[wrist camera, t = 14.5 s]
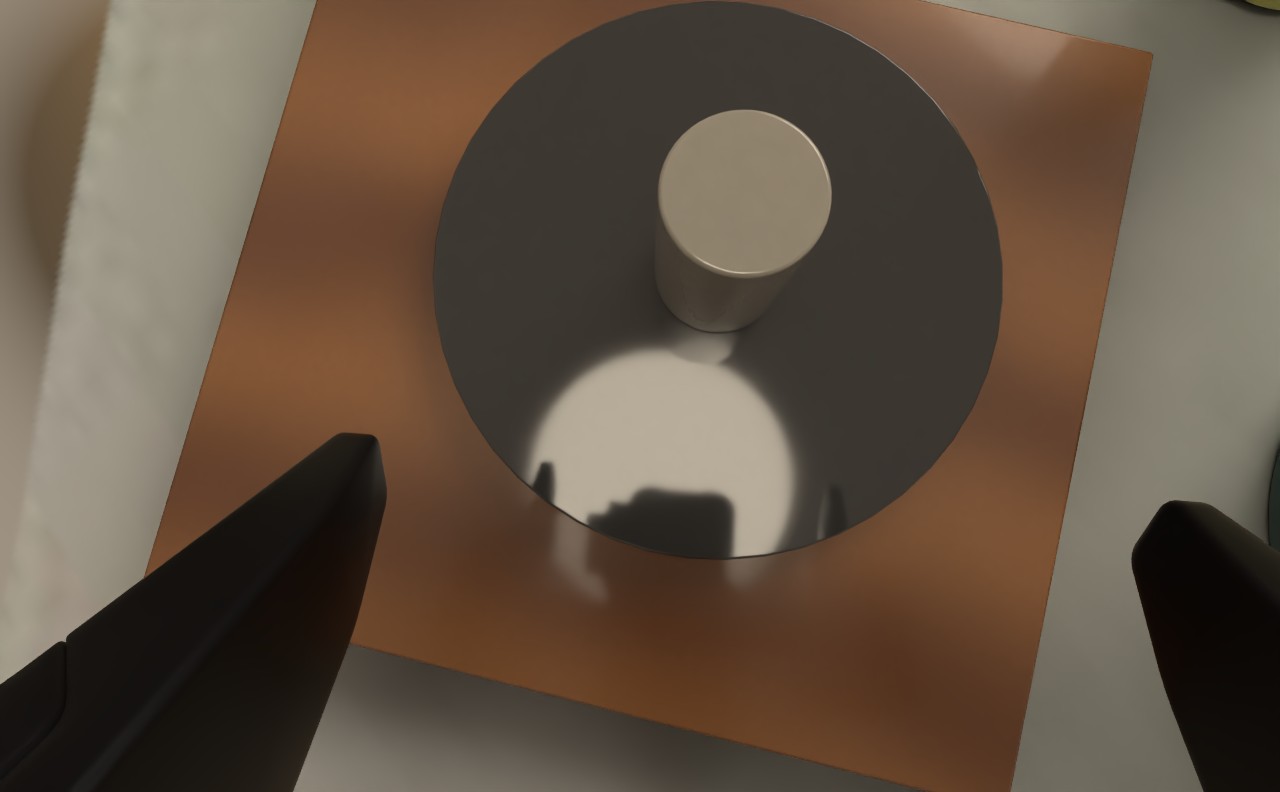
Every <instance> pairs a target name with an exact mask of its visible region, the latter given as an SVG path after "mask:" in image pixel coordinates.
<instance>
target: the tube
mask: <svg viewBox="0 0 1280 792" xmlns="http://www.w3.org/2000/svg"><path fill="white" fill-rule="evenodd" d="M1245 1H1247V2H1250V3H1252V4H1254V5H1258V6H1262V7H1265V8H1270V9H1276V10H1280V0H1245Z"/></svg>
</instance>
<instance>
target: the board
mask: <svg viewBox="0 0 1280 792" xmlns="http://www.w3.org/2000/svg"><path fill="white" fill-rule="evenodd" d="M701 1H727V2H747V3H753V4H759V5H765V6H772V7H778V8H782V9H786V10H789V11H793V12H796V13H799V14H803V15H806V16H810V17H813V18H816V19H818V20H821V21H823V22H825V23H828V24H830V25H832V26H834V27H837V28H839V29H841V30H844V31H846V32H848V33H850V34H852V35H853V36H855V37H857V38H858V39H860V40H862V41H864V42H865V43H867V44H869V45H870V46H872V47H874V48H875V49H877V50H879V51H880V52H881V53H883V54H884V55H885V56H887V57H888V58H889V59H890V60H892V61H893V62H894V63H896V64H897V65H898V66H899V67H901V68H902V69H903V70H905V71H906V72H907V73H908V74H909V75H910V76H911V77H912V78H913V79H914V80H915V81H916V82H917V83H918V84H919V85H920V86H921V87H922V88H923V89H924V90H925V91H926V92H927V93H928V94H929V95H930V96H931V97H932V98H933V99H934V100H935V101H936V102H937V104H938V105H939V106H940V108H941V109H942V110H943V112H944V113H945V114H946V115H947V117H948V118H949V119H950V121H951V122H952V123H953V125H954V126H955V127H956V129H957V130H958V132H959V134H960V136H961V137H962V139H963V141H964V142H965V144H966V146H967V148H968V149H969V151H970V153H971V154H972V156H973V158H974V160H975V162H976V165H977V167H978V169H979V172H980V174H981V177H982V179H983V181H984V184H985V186H986V188H987V191H988V193H989V197H990V201H991V205H992V208H993V212H994V216H995V219H996V223H997V227H998V233H999V240H1000V248H1001V255H1002V263H1003V302H1002V310H1001V317H1000V324H999V332H998V338H997V342H996V346H995V349H994V353H993V357H992V360H991V364H990V367H989V371H988V374H987V377H986V379H985V381H984V383H983V386H982V388H981V390H980V393H979V395H978V397H977V400H976V402H975V404H974V407H973V409H972V410H971V412H970V414H969V415H968V417H967V419H966V420H965V422H964V424H963V425H962V427H961V429H960V430H959V432H958V434H957V435H956V437H955V439H954V440H953V441H952V443H951V444H950V445H949V446H948V448H947V449H946V450H945V451H944V453H943V454H942V455H941V456H940V458H939V459H938V460H937V461H936V463H935V464H934V465H933V466H932V467H931V469H930V470H929V471H928V472H927V473H926V474H924V475H923V476H922V477H921V478H920V479H919V480H918V481H917V482H916V483H915V484H914V485H913V486H912V487H911V488H910V489H909V490H908V491H907V492H905V493H904V494H903V495H902V496H901V497H899V498H898V499H897V500H895V501H894V502H892V503H891V504H890V505H888V506H887V507H885V508H884V509H883V510H881V511H880V512H878V513H877V514H876V515H874V516H873V517H871V518H869V519H868V520H866V521H864V522H862V523H860V524H858V525H856V526H854V527H852V528H851V529H849V530H847V531H845V532H843V533H841V534H839V535H837V536H834V537H832V538H829V539H826V540H824V541H821V542H818V543H815V544H813V545H810V546H807V547H805V548H802V549H797V550H793V551H788V552H784V553H779V554H775V555H770V556H766V557H756V558H745V559H734V560H713V559H691V558H683V557H677V556H672V555H666V554H661V553H655V552H650V551H647V550H643V549H640V548H637V547H634V546H631V545H628V544H625V543H622V542H619V541H615V540H613V539H610V538H608V537H606V536H604V535H602V534H600V533H598V532H596V531H594V530H591V529H589V528H587V527H585V526H583V525H581V524H579V523H577V522H576V521H574V520H573V519H571V518H569V517H568V516H566V515H565V514H563V513H562V512H560V511H559V510H557V509H556V508H554V507H552V506H551V505H549V504H548V503H546V502H545V501H544V500H543V499H542V498H540V497H539V496H538V495H537V494H536V493H535V492H533V491H532V490H531V489H530V488H529V487H528V486H526V485H525V484H524V483H523V482H522V481H521V480H519V479H518V478H517V477H516V476H515V475H514V473H513V472H512V471H511V470H510V469H509V468H508V467H507V466H506V464H505V463H504V462H503V461H502V460H501V459H500V458H499V457H498V456H497V454H496V453H495V452H494V451H493V450H492V449H491V447H490V446H489V444H488V443H487V441H486V440H485V438H484V437H483V435H482V434H481V432H480V431H479V429H478V428H477V427H476V425H475V424H474V422H473V421H472V419H471V417H470V415H469V413H468V411H467V409H466V407H465V405H464V403H463V401H462V399H461V397H460V395H459V393H458V391H457V389H456V387H455V385H454V383H453V380H452V377H451V374H450V371H449V368H448V365H447V362H446V359H445V356H444V353H443V350H442V346H441V341H440V336H439V331H438V326H437V321H436V316H435V303H434V287H433V268H434V254H435V241H436V236H437V231H438V226H439V221H440V216H441V212H442V207H443V203H444V201H445V198H446V195H447V192H448V189H449V186H450V183H451V180H452V178H453V175H454V172H455V170H456V168H457V166H458V164H459V162H460V160H461V158H462V156H463V154H464V152H465V150H466V148H467V146H468V144H469V142H470V140H471V138H472V137H473V135H474V134H475V133H476V131H477V130H478V128H479V127H480V125H481V124H482V122H483V121H484V119H485V118H486V116H487V115H488V113H489V112H490V110H491V109H492V108H493V107H494V106H495V105H496V103H497V102H498V101H499V100H500V99H501V98H502V97H503V96H504V94H505V93H506V92H507V91H508V90H509V89H510V88H511V87H512V85H513V84H514V83H515V82H516V81H517V80H519V79H520V78H521V77H522V76H523V75H524V74H526V73H527V72H528V71H529V70H530V69H531V68H532V67H534V66H535V65H536V64H537V63H538V62H539V61H541V60H542V59H543V58H545V57H546V56H548V55H549V54H551V53H552V52H554V51H555V50H557V49H558V48H560V47H561V46H563V45H564V44H566V43H567V42H569V41H570V40H572V39H573V38H575V37H577V36H579V35H581V34H583V33H585V32H587V31H589V30H592V29H594V28H596V27H598V26H600V25H602V24H604V23H606V22H609V21H612V20H615V19H618V18H621V17H623V16H626V15H629V14H632V13H635V12H638V11H642V10H647V9H652V8H656V7H661V6H666V5H670V4H678V3H689V2H701ZM1152 59H1153V54H1152V53H1150V52H1146V51H1142V50H1137V49H1133V48H1128V47H1124V46H1120V45H1115V44H1111V43H1106V42H1102V41H1097V40H1093V39H1089V38H1084V37H1080V36H1075V35H1071V34H1067V33H1062V32H1058V31H1053V30H1049V29H1045V28H1040V27H1036V26H1031V25H1027V24H1023V23H1018V22H1014V21H1009V20H1005V19H1001V18H996V17H992V16H987V15H983V14H979V13H974V12H970V11H965V10H961V9H957V8H952V7H948V6H943V5H939V4H934V3H930V2H926V1H921V0H317V1H316V4H315V8H314V11H313V15H312V18H311V21H310V25H309V28H308V31H307V35H306V38H305V41H304V45H303V48H302V51H301V55H300V58H299V61H298V65H297V68H296V71H295V75H294V78H293V81H292V85H291V88H290V91H289V95H288V98H287V101H286V105H285V108H284V111H283V115H282V118H281V121H280V125H279V128H278V131H277V135H276V138H275V141H274V145H273V148H272V151H271V155H270V158H269V162H268V165H267V168H266V172H265V175H264V178H263V182H262V185H261V188H260V192H259V195H258V198H257V202H256V205H255V208H254V212H253V215H252V218H251V222H250V225H249V228H248V232H247V235H246V238H245V242H244V245H243V248H242V252H241V255H240V258H239V262H238V265H237V268H236V272H235V275H234V278H233V282H232V285H231V288H230V292H229V295H228V298H227V302H226V305H225V308H224V312H223V315H222V319H221V322H220V325H219V329H218V332H217V335H216V339H215V342H214V345H213V349H212V352H211V355H210V359H209V362H208V365H207V369H206V372H205V375H204V379H203V382H202V385H201V389H200V392H199V395H198V399H197V402H196V405H195V409H194V412H193V415H192V419H191V422H190V425H189V429H188V432H187V435H186V439H185V442H184V445H183V449H182V452H181V455H180V459H179V462H178V466H177V469H176V472H175V476H174V479H173V482H172V486H171V489H170V492H169V496H168V499H167V502H166V506H165V509H164V512H163V516H162V519H161V522H160V526H159V529H158V532H157V536H156V539H155V542H154V546H153V549H152V552H151V556H150V559H149V562H148V566H147V569H146V572H145V576H144V578H145V577H146V576H148V575H149V574H150V573H152V572H153V571H154V570H156V569H157V568H158V567H160V566H161V565H162V564H164V563H165V562H166V561H168V560H169V559H170V558H172V557H173V556H174V555H176V554H177V553H178V552H180V551H181V550H182V549H184V548H185V547H186V546H188V545H189V544H190V543H192V542H193V541H194V540H196V539H197V538H198V537H200V536H201V535H202V534H204V533H205V532H206V531H208V530H209V529H210V528H212V527H213V526H214V525H216V524H217V523H218V522H220V521H221V520H222V519H224V518H225V517H226V516H228V515H229V514H230V513H232V512H233V511H234V510H236V509H237V508H238V507H240V506H241V505H242V504H244V503H245V502H246V501H248V500H249V499H250V498H252V497H253V496H254V495H256V494H257V493H258V492H260V491H261V490H262V489H264V488H265V487H266V486H268V485H269V484H271V483H272V482H273V481H275V480H276V479H277V478H279V477H280V476H281V475H283V474H284V473H285V472H287V471H288V470H289V469H291V468H292V467H293V466H295V465H296V464H297V463H299V462H300V461H301V460H303V459H304V458H305V457H307V456H308V455H309V454H311V453H312V452H313V451H315V450H316V449H317V448H319V447H320V446H321V445H323V444H324V443H325V442H327V441H328V440H329V439H331V438H332V437H333V436H335V435H337V434H339V433H343V432H348V433H360V434H371V435H373V436H375V437H376V438H377V439H378V441H379V444H380V448H381V454H382V460H383V466H384V472H385V478H386V484H387V500H386V507H385V511H384V515H383V519H382V523H381V527H380V531H379V535H378V539H377V543H376V547H375V551H374V555H373V559H372V563H371V567H370V571H369V575H368V579H367V583H366V587H365V591H364V595H363V599H362V603H361V607H360V611H359V615H358V618H357V622H356V626H355V628H354V631H353V634H352V637H351V640H350V643H349V644H352V645H356V646H360V647H364V648H368V649H372V650H376V651H380V652H384V653H388V654H391V655H395V656H399V657H403V658H407V659H411V660H415V661H419V662H423V663H427V664H431V665H434V666H438V667H442V668H446V669H450V670H454V671H458V672H462V673H466V674H470V675H473V676H477V677H481V678H485V679H489V680H493V681H497V682H501V683H505V684H509V685H513V686H516V687H520V688H524V689H528V690H532V691H536V692H540V693H544V694H548V695H552V696H556V697H559V698H563V699H567V700H571V701H575V702H579V703H583V704H587V705H591V706H595V707H598V708H602V709H606V710H610V711H614V712H618V713H622V714H626V715H630V716H634V717H638V718H641V719H645V720H649V721H653V722H657V723H661V724H665V725H669V726H673V727H677V728H681V729H684V730H688V731H692V732H696V733H700V734H704V735H708V736H712V737H716V738H720V739H723V740H727V741H731V742H735V743H739V744H743V745H747V746H751V747H755V748H759V749H763V750H766V751H770V752H774V753H778V754H782V755H786V756H790V757H794V758H798V759H802V760H805V761H809V762H813V763H817V764H821V765H825V766H829V767H833V768H837V769H841V770H845V771H848V772H852V773H856V774H860V775H864V776H868V777H872V778H876V779H880V780H884V781H888V782H891V783H895V784H899V785H903V786H907V787H911V788H915V789H919V790H923V791H927V792H1010V791H1011V786H1012V781H1013V775H1014V770H1015V765H1016V760H1017V755H1018V750H1019V745H1020V739H1021V734H1022V729H1023V724H1024V719H1025V714H1026V708H1027V703H1028V698H1029V693H1030V688H1031V683H1032V678H1033V672H1034V667H1035V662H1036V657H1037V652H1038V647H1039V641H1040V636H1041V631H1042V626H1043V621H1044V616H1045V610H1046V605H1047V600H1048V595H1049V590H1050V585H1051V580H1052V574H1053V569H1054V564H1055V559H1056V554H1057V549H1058V543H1059V538H1060V533H1061V528H1062V523H1063V518H1064V513H1065V507H1066V502H1067V497H1068V492H1069V487H1070V482H1071V476H1072V471H1073V466H1074V461H1075V456H1076V451H1077V446H1078V440H1079V435H1080V430H1081V425H1082V420H1083V415H1084V409H1085V404H1086V399H1087V394H1088V389H1089V384H1090V378H1091V373H1092V368H1093V363H1094V358H1095V353H1096V348H1097V342H1098V337H1099V332H1100V327H1101V322H1102V317H1103V311H1104V306H1105V301H1106V296H1107V291H1108V286H1109V281H1110V275H1111V270H1112V265H1113V260H1114V255H1115V250H1116V244H1117V239H1118V234H1119V229H1120V224H1121V219H1122V214H1123V208H1124V203H1125V198H1126V193H1127V188H1128V183H1129V177H1130V172H1131V167H1132V162H1133V157H1134V152H1135V147H1136V141H1137V136H1138V131H1139V126H1140V121H1141V116H1142V110H1143V105H1144V100H1145V95H1146V90H1147V85H1148V79H1149V74H1150V69H1151V64H1152Z"/></svg>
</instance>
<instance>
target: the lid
mask: <svg viewBox="0 0 1280 792" xmlns="http://www.w3.org/2000/svg"><path fill="white" fill-rule="evenodd" d="M433 287H434V303H435V316H436V321H437V326H438V331H439V336H440V341H441V346H442V350H443V353H444V356H445V359H446V362H447V365H448V368H449V371H450V374H451V377H452V380H453V383H454V385H455V387H456V389H457V391H458V393H459V395H460V397H461V399H462V401H463V403H464V405H465V407H466V409H467V411H468V413H469V415H470V417H471V419H472V421H473V422H474V424H475V425H476V427H477V428H478V429H479V431H480V432H481V434H482V435H483V437H484V438H485V440H486V441H487V443H488V444H489V446H490V447H491V449H492V450H493V451H494V452H495V453H496V454H497V456H498V457H499V458H500V459H501V460H502V461H503V462H504V463H505V464H506V466H507V467H508V468H509V469H510V470H511V471H512V472H513V473H514V475H515V476H516V477H517V478H518V479H519V480H521V481H522V482H523V483H524V484H525V485H526V486H528V487H529V488H530V489H531V490H532V491H533V492H535V493H536V494H537V495H538V496H539V497H540V498H542V499H543V500H544V501H545V502H546V503H548V504H549V505H551V506H552V507H554V508H556V509H557V510H559V511H560V512H562V513H563V514H565V515H566V516H568V517H569V518H571V519H573V520H574V521H576V522H577V523H579V524H581V525H583V526H585V527H587V528H589V529H591V530H594V531H596V532H598V533H600V534H602V535H604V536H606V537H608V538H610V539H613V540H615V541H619V542H622V543H625V544H628V545H631V546H634V547H637V548H640V549H643V550H647V551H650V552H655V553H661V554H666V555H672V556H677V557H683V558H691V559H713V560H734V559H745V558H756V557H766V556H770V555H775V554H779V553H784V552H788V551H793V550H797V549H802V548H805V547H807V546H810V545H813V544H815V543H818V542H821V541H824V540H826V539H829V538H832V537H834V536H837V535H839V534H841V533H843V532H845V531H847V530H849V529H851V528H852V527H854V526H856V525H858V524H860V523H862V522H864V521H866V520H868V519H869V518H871V517H873V516H874V515H876V514H877V513H878V512H880V511H881V510H883V509H884V508H885V507H887V506H888V505H890V504H891V503H892V502H894V501H895V500H897V499H898V498H899V497H901V496H902V495H903V494H904V493H905V492H907V491H908V490H909V489H910V488H911V487H912V486H913V485H914V484H915V483H916V482H917V481H918V480H919V479H920V478H921V477H922V476H923V475H924V474H926V473H927V472H928V471H929V470H930V469H931V467H932V466H933V465H934V464H935V463H936V461H937V460H938V459H939V458H940V456H941V455H942V454H943V453H944V451H945V450H946V449H947V448H948V446H949V445H950V444H951V443H952V441H953V440H954V439H955V437H956V435H957V434H958V432H959V430H960V429H961V427H962V425H963V424H964V422H965V420H966V419H967V417H968V415H969V414H970V412H971V410H972V409H973V407H974V404H975V402H976V400H977V397H978V395H979V393H980V390H981V388H982V386H983V383H984V381H985V379H986V377H987V374H988V371H989V367H990V364H991V360H992V357H993V353H994V349H995V346H996V342H997V338H998V332H999V324H1000V317H1001V310H1002V302H1003V263H1002V255H1001V248H1000V240H999V233H998V227H997V223H996V219H995V216H994V212H993V208H992V205H991V201H990V197H989V193H988V191H987V188H986V186H985V184H984V181H983V179H982V177H981V174H980V172H979V169H978V167H977V165H976V162H975V160H974V158H973V156H972V154H971V153H970V151H969V149H968V148H967V146H966V144H965V142H964V141H963V139H962V137H961V136H960V134H959V132H958V130H957V129H956V127H955V126H954V125H953V123H952V122H951V121H950V119H949V118H948V117H947V115H946V114H945V113H944V112H943V110H942V109H941V108H940V106H939V105H938V104H937V102H936V101H935V100H934V99H933V98H932V97H931V96H930V95H929V94H928V93H927V92H926V91H925V90H924V89H923V88H922V87H921V86H920V85H919V84H918V83H917V82H916V81H915V80H914V79H913V78H912V77H911V76H910V75H909V74H908V73H907V72H906V71H905V70H903V69H902V68H901V67H899V66H898V65H897V64H896V63H894V62H893V61H892V60H890V59H889V58H888V57H887V56H885V55H884V54H883V53H881V52H880V51H879V50H877V49H875V48H874V47H872V46H870V45H869V44H867V43H865V42H864V41H862V40H860V39H858V38H857V37H855V36H853V35H852V34H850V33H848V32H846V31H844V30H841V29H839V28H837V27H834V26H832V25H830V24H828V23H825V22H823V21H821V20H818V19H816V18H813V17H810V16H806V15H803V14H799V13H796V12H793V11H789V10H786V9H782V8H778V7H772V6H765V5H759V4H753V3H747V2H727V1H701V2H689V3H678V4H670V5H666V6H661V7H656V8H652V9H647V10H642V11H638V12H635V13H632V14H629V15H626V16H623V17H621V18H618V19H615V20H612V21H609V22H606V23H604V24H602V25H600V26H598V27H596V28H594V29H592V30H589V31H587V32H585V33H583V34H581V35H579V36H577V37H575V38H573V39H572V40H570V41H569V42H567V43H566V44H564V45H563V46H561V47H560V48H558V49H557V50H555V51H554V52H552V53H551V54H549V55H548V56H546V57H545V58H543V59H542V60H541V61H539V62H538V63H537V64H536V65H535V66H534V67H532V68H531V69H530V70H529V71H528V72H527V73H526V74H524V75H523V76H522V77H521V78H520V79H519V80H517V81H516V82H515V83H514V84H513V85H512V87H511V88H510V89H509V90H508V91H507V92H506V93H505V94H504V96H503V97H502V98H501V99H500V100H499V101H498V102H497V103H496V105H495V106H494V107H493V108H492V109H491V110H490V112H489V113H488V115H487V116H486V118H485V119H484V121H483V122H482V124H481V125H480V127H479V128H478V130H477V131H476V133H475V134H474V135H473V137H472V138H471V140H470V142H469V144H468V146H467V148H466V150H465V152H464V154H463V156H462V158H461V160H460V162H459V164H458V166H457V168H456V170H455V172H454V175H453V178H452V180H451V183H450V186H449V189H448V192H447V195H446V198H445V201H444V203H443V207H442V212H441V216H440V221H439V226H438V231H437V236H436V241H435V254H434V268H433Z"/></svg>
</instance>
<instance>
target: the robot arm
mask: <svg viewBox="0 0 1280 792" xmlns="http://www.w3.org/2000/svg"><path fill="white" fill-rule="evenodd" d="M386 500H387V484H386V478H385V472H384V466H383V460H382V454H381V448H380V444H379V441H378V439H377V438H376V437H375V436H373V435H371V434H360V433H348V432H343V433H339V434H337V435H335V436H333V437H332V438H331V439H329V440H328V441H327V442H325V443H324V444H323V445H321V446H320V447H319V448H317V449H316V450H315V451H313V452H312V453H311V454H309V455H308V456H307V457H305V458H304V459H303V460H301V461H300V462H299V463H297V464H296V465H295V466H293V467H292V468H291V469H289V470H288V471H287V472H285V473H284V474H283V475H281V476H280V477H279V478H277V479H276V480H275V481H273V482H272V483H271V484H269V485H268V486H266V487H265V488H264V489H262V490H261V491H260V492H258V493H257V494H256V495H254V496H253V497H252V498H250V499H249V500H248V501H246V502H245V503H244V504H242V505H241V506H240V507H238V508H237V509H236V510H234V511H233V512H232V513H230V514H229V515H228V516H226V517H225V518H224V519H222V520H221V521H220V522H218V523H217V524H216V525H214V526H213V527H212V528H210V529H209V530H208V531H206V532H205V533H204V534H202V535H201V536H200V537H198V538H197V539H196V540H194V541H193V542H192V543H190V544H189V545H188V546H186V547H185V548H184V549H182V550H181V551H180V552H178V553H177V554H176V555H174V556H173V557H172V558H170V559H169V560H168V561H166V562H165V563H164V564H162V565H161V566H160V567H158V568H157V569H156V570H154V571H153V572H152V573H150V574H149V575H148V576H146V577H145V578H144V579H142V580H141V581H140V582H138V583H137V584H135V585H134V586H133V587H131V588H130V589H129V590H127V591H126V592H125V593H123V594H122V595H121V596H119V597H118V598H117V599H115V600H114V601H113V602H111V603H110V604H109V605H107V606H106V607H105V608H103V609H102V610H101V611H99V612H98V613H97V614H95V615H94V616H93V617H91V618H90V619H89V620H87V621H86V622H85V623H83V624H82V625H81V626H79V627H78V628H77V629H75V630H74V631H73V632H71V633H70V634H69V635H68V636H67V638H66V642H62V641H60V642H58V643H56V644H55V645H53V646H52V647H51V648H49V649H48V650H47V651H45V652H44V653H43V654H41V655H40V656H39V657H37V658H36V659H35V660H33V661H32V662H31V663H29V664H28V665H27V666H25V667H24V668H23V669H21V670H20V671H19V672H17V673H16V674H14V675H13V676H12V677H10V678H9V679H7V680H6V681H5V682H3V683H2V684H0V792H293V790H294V788H295V785H296V782H297V780H298V777H299V775H300V772H301V769H302V767H303V764H304V761H305V759H306V756H307V754H308V751H309V748H310V746H311V743H312V740H313V738H314V735H315V732H316V730H317V727H318V725H319V722H320V719H321V717H322V714H323V711H324V709H325V706H326V704H327V701H328V698H329V696H330V693H331V690H332V688H333V685H334V683H335V680H336V677H337V675H338V672H339V669H340V667H341V664H342V661H343V659H344V656H345V654H346V651H347V648H348V646H349V643H350V640H351V637H352V634H353V631H354V628H355V626H356V622H357V618H358V615H359V611H360V607H361V603H362V599H363V595H364V591H365V587H366V583H367V579H368V575H369V571H370V567H371V563H372V559H373V555H374V551H375V547H376V543H377V539H378V535H379V531H380V527H381V523H382V519H383V515H384V511H385V507H386ZM1131 560H1132V570H1133V574H1134V577H1135V581H1136V585H1137V589H1138V592H1139V596H1140V600H1141V604H1142V607H1143V611H1144V615H1145V619H1146V623H1147V626H1148V630H1149V634H1150V638H1151V641H1152V645H1153V649H1154V653H1155V656H1156V660H1157V664H1158V668H1159V671H1160V675H1161V678H1162V681H1163V685H1164V688H1165V691H1166V694H1167V697H1168V699H1169V702H1170V705H1171V708H1172V711H1173V713H1174V716H1175V718H1176V721H1177V724H1178V726H1179V729H1180V731H1181V734H1182V737H1183V739H1184V742H1185V744H1186V747H1187V750H1188V752H1189V755H1190V757H1191V760H1192V763H1193V765H1194V768H1195V770H1196V773H1197V776H1198V778H1199V781H1200V784H1201V786H1202V789H1203V791H1204V792H1280V552H1278V551H1277V550H1275V549H1274V548H1272V547H1271V546H1270V545H1268V544H1267V543H1265V542H1264V541H1262V540H1261V539H1259V538H1258V537H1257V536H1255V535H1254V534H1252V533H1251V532H1249V531H1248V530H1246V529H1245V528H1243V527H1242V526H1241V525H1239V524H1238V523H1236V522H1235V521H1233V520H1232V519H1230V518H1229V517H1228V516H1226V515H1225V514H1223V513H1222V512H1220V511H1219V510H1217V509H1216V508H1214V507H1213V506H1211V505H1209V504H1206V503H1202V502H1190V501H1178V500H1173V501H1169V502H1167V503H1165V504H1164V505H1162V506H1161V508H1160V509H1159V510H1158V512H1157V513H1156V515H1155V516H1154V518H1153V519H1152V520H1151V522H1150V523H1149V525H1148V526H1147V528H1146V529H1145V531H1144V532H1143V534H1142V535H1141V537H1140V538H1139V540H1138V541H1137V543H1136V544H1135V546H1134V549H1133V552H1132V559H1131Z"/></svg>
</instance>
